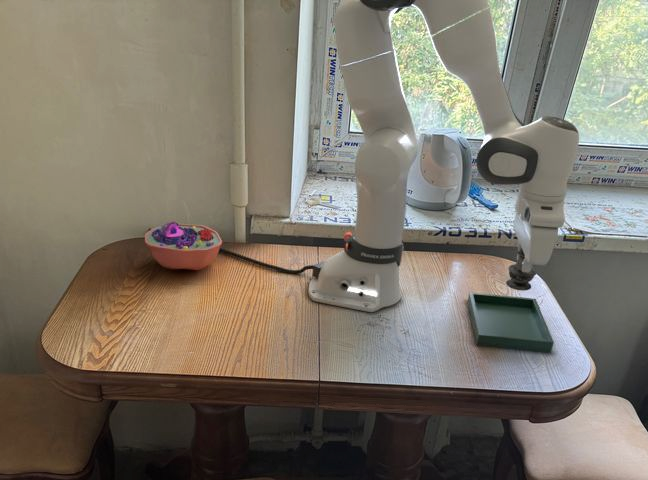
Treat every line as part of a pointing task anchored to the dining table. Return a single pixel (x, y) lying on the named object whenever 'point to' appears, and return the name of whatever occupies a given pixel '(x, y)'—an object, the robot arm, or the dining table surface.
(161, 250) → the cell model
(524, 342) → the tray
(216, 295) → the dining table surface
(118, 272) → the dining table surface
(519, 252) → the dark grey chess piece
